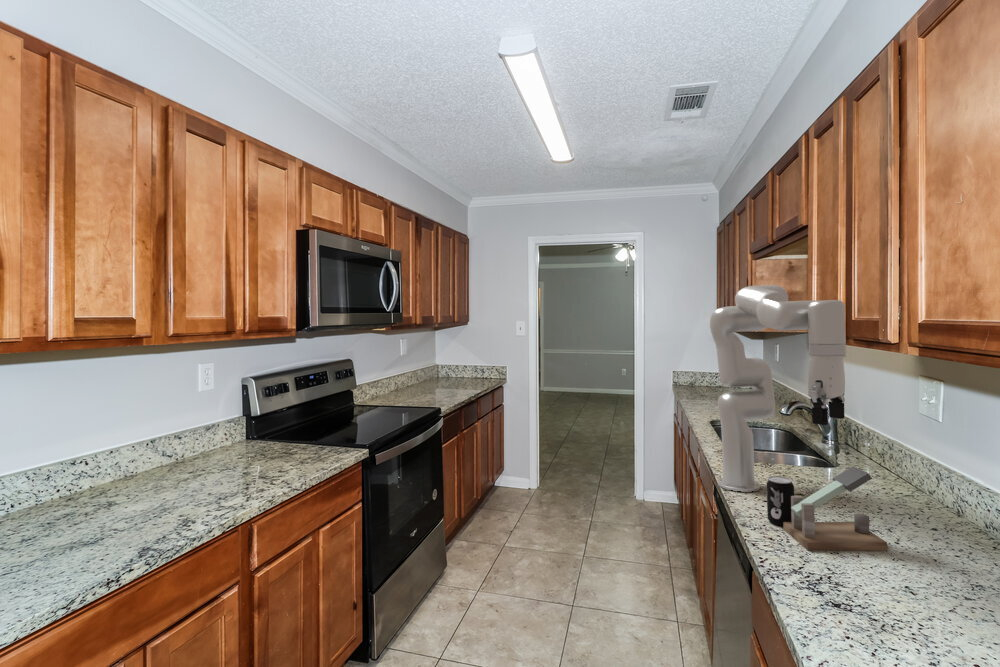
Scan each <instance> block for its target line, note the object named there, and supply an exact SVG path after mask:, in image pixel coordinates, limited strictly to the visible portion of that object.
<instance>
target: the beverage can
mask: <svg viewBox="0 0 1000 667" xmlns="http://www.w3.org/2000/svg"><path fill="white" fill-rule="evenodd" d="M767 479H768V480H767V481H766V510H767V511H766V512H767V513H766V514H767V515H766V516H767V520H768V521H769V522H770V524H772V523H773V525H774V524H775V526H778V527H783V522H792V517H791V496H795V485H794V484H793V480H792V479H791V478H789V477H786V476H782V475H781V476H780V475H771V476H769V477H767Z"/></svg>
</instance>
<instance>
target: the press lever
mask: <svg viewBox="0 0 1000 667" xmlns="http://www.w3.org/2000/svg"><path fill="white" fill-rule="evenodd" d="M831 479H832V480H833V481H832V482H831V483H829V484H827V485H826V486H824V487H822V488H820V489H819V490H816V492H814V493H813V494H810V495H809V496H808V497H806V498H803V500H802V501H801V502H799V503H797V504H796V505H794V506H792V507H791V509H792V510H793V512H794V513H795V514H797V515H798V516H799V517H802V507H801V503H812V504H813V505H814V510H815V509H817V508H818V507H820V506H821V505H824V504H825V503H827V502H829V501H830V500H832V499H834V498H835V497H837V496H838V495H840V494H842V493H844V492H845V491H848V492H850V493H851V492H852V491H854V490H856V489H857V488H860V487H861V486H862V485H864V484H866V483H868V482H869V481H871V480H872V479H873V478H872V476H871V474H870V473H869V472H867V471H866V470H863V469H861V468H859V467H856V466H854V465H852V466H850V467H848V468H847V469H845V470H844V471H842V472H840V473H839V474H837V475H836V476H834V477H832V478H831Z"/></svg>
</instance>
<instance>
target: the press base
mask: <svg viewBox="0 0 1000 667" xmlns="http://www.w3.org/2000/svg"><path fill="white" fill-rule="evenodd" d="M802 500H804V497H803V496H802V495H794V496H791V507H792V506H794V505H796V504H797V503H799V502H801V501H802ZM801 507H802V517H799V516H798V515H797V514H795V513H794V512H793V510H792V509H791V517H792V522H783V526H782V527H783V531H785V533H787V534H788V535H789V536H790V535H791V536H792V537H791V536H790V537H791V538H793V539H794V541H796V542H797V543H798V542H799V543H800V544H799V543H798V544H799V545H800V546H802V547H803V548H804V549H805V550H806V551H807V550H808V552H810V551H811V552H812V551H813V552H814V551H815V552H820V551H821V552H822V551H823V552H824V551H825V552H827V551H829V552H831V551H832V552H833V551H834V552H835V551H836V552H845V551H846V552H847V551H848V552H851V551H853V552H856V551H857V552H861V551H862V552H868V551H869V552H880V551H881V552H888V542H887V541H885V539H883V538H882V537H880V536H878V535H876V534H875V533H874V532H872V531H871V530H870V516H869V515H868V514H864V513H854V514H853V518H854V521H815V519H816V518H815V509H814V505H813V504H812V503H801Z"/></svg>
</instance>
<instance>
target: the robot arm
mask: <svg viewBox="0 0 1000 667" xmlns="http://www.w3.org/2000/svg"><path fill="white" fill-rule="evenodd" d="M734 302H735V305H730V306H724V307H719V308H716V309H715V310H713V312H712V313H711V315H710V318H709V328H710V333H711V336H712V338H713V341H714V343H715V347H716V356H717V358H716V359H717V366H718V374H719V376H718V377H719V381H720V382H721V385H723V386H724V387H727V388H750V387H752V390H741V391H740V390H738V391H736V390H735V391H728V392H724V393H722V394H721V395H720V396H719V397H718V398H717V410H718V415H719V418H720V419H719V421H720V427H721V450H722V451H721V452H722V453H721V456H722V458H721V459H722V477H721V478H719V479H718V480H717V484H718V486H719V487H720V488H723V489H724V490H727V491H731V490H733V491H732V492H737V491H741V492H740V493H751V492H752V491H753V492H757V491H759V490H760V489H761V484H760V482H758V481H757V480H755V452H754V451H755V450H754V449H755V448H754V433H753V431H752V429H751V427H750V426H749V425H748V424H747V423H746V421H753V420H755V421H756V420H757V421H758V420H767V419H770V418H772V417H773V416H774V414H775V411H776V399H775V398H776V397H775V392H774V391H775V390H774V381H773V374H772V370H771V367H770V365H769V363H768V362H767V361H766V360H764V359H762V358H758V357H752V358H751V357H750V358H748V357H746V352H745V345H744V342H743V341H742V339H740V337H739V336H738V335H737V334H736V333H737V332H739V333H740V332H742V333H743V332H759V331H760V332H761V331H764V330H766V329H767V328H769V329H772V330H775V331H782V332H783V331H785V332H786V331H803V330H804V331H807V332H808V357H809V364H808V374H807V396H808V397H809V398H810V402H811V404H810V407H811V417H812V418H811V422H812V425H813V424H814V425H821V426H828V425H829V418H831V419H839V420H844V419H845V391H846V376H845V364H844V359H845V358H847V352H846V351H847V348H846V347H847V345H846V343H847V342H846V340H847V339H846V338H847V336H846V305H845V303H844V302H843V301H842V300H839V299H828V300H827V299H826V300H817V299H816V300H795V301H794V300H791V301H790V300H789V296H788V293H787V290H786V289H785V288H784V287H782V286H780V285H777V284H772V285H771V284H769V285H768V284H767V285H766V284H765V285H749V286H744V287H743V288H740V290H738V291H737V293H736V294H735V297H734ZM735 332H736V333H735ZM827 405H828V407H827Z"/></svg>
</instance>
